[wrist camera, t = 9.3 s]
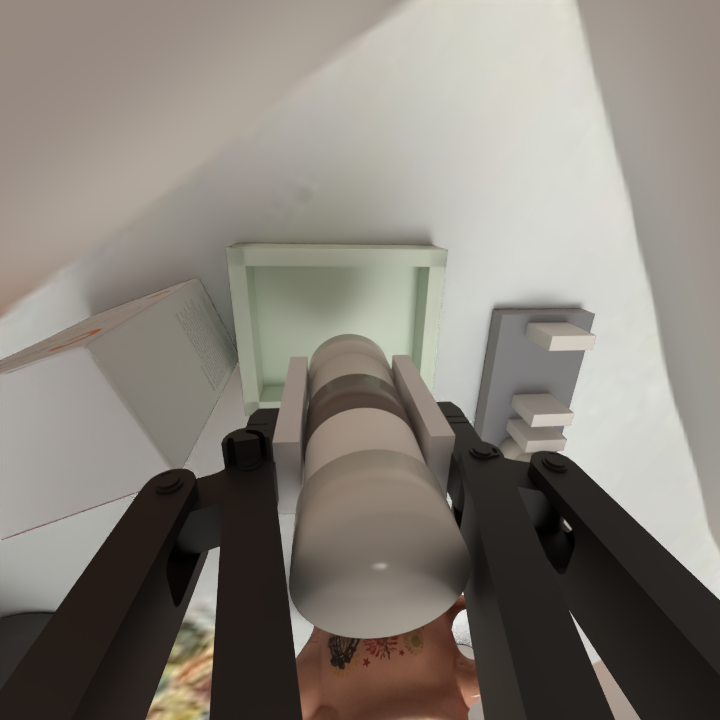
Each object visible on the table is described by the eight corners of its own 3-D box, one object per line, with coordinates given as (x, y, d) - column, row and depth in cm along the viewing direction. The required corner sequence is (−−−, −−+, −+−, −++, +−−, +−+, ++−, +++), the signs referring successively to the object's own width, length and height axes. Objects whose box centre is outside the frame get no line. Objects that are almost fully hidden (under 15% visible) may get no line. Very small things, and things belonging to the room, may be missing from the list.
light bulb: (309, 408, 19) (294, 645, 8) (306, 334, 17) (283, 517, 7) (386, 405, 19) (458, 630, 9) (390, 333, 17) (483, 505, 7)
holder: (465, 481, 33) (543, 626, 21) (493, 309, 27) (622, 384, 15) (537, 477, 34) (650, 615, 22) (581, 308, 27) (768, 379, 16)
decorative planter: (438, 486, 33) (513, 662, 20) (490, 560, 37) (579, 742, 25) (260, 584, 35) (226, 796, 23) (330, 642, 40) (334, 846, 27)
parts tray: (252, 394, 27) (245, 415, 25) (236, 243, 23) (225, 247, 20) (420, 389, 29) (430, 408, 26) (433, 245, 25) (447, 249, 22)
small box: (141, 394, 27) (-5, 546, 15) (88, 316, 24) (-141, 421, 12) (244, 358, 26) (180, 482, 14) (201, 274, 24) (80, 340, 12)
